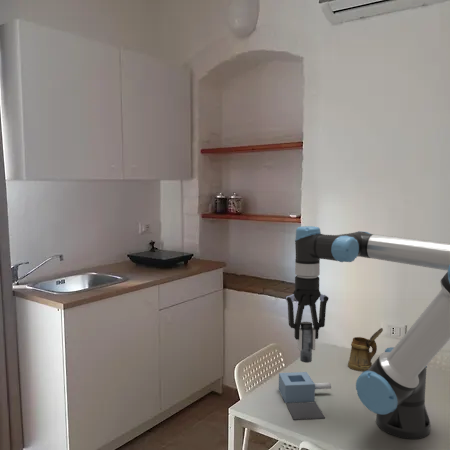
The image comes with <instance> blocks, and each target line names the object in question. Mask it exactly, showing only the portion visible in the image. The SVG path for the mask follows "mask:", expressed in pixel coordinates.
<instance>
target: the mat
mask: <svg viewBox="0 0 450 450" xmlns="http://www.w3.org/2000/svg"><path fill="white" fill-rule="evenodd" d="M285 407H286V408H287V409H288V412H289V413H290V415H291V418H292V420H293V421H302V420H303V421H304V420H322V419H326V416H325V414H324V413H323V411H322V410H321V408H320V407H319V405H318V403H317V402H316V401H315V402H296V403H285Z"/></svg>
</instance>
